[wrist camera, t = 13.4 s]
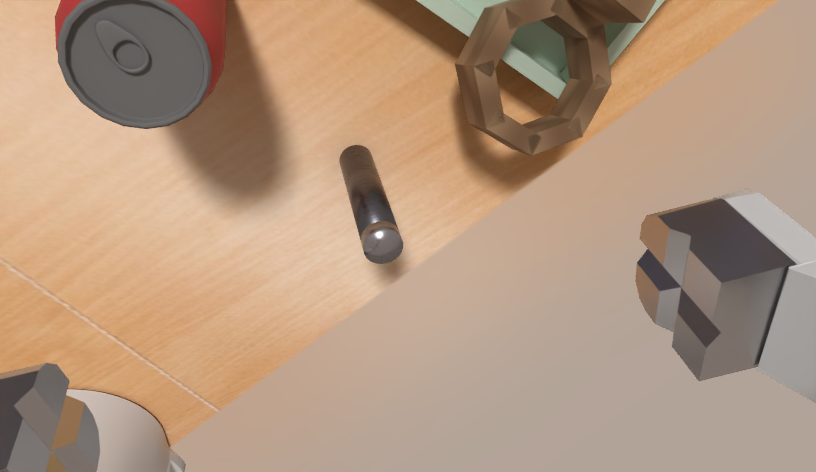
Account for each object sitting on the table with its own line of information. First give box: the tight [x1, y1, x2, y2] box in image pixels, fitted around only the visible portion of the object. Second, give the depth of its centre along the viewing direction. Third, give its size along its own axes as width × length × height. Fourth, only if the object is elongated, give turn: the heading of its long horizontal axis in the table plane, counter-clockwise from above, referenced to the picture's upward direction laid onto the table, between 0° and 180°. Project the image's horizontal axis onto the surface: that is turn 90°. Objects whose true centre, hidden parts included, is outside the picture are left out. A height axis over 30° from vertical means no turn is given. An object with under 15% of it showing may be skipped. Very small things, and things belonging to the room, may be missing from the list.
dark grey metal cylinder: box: [340, 145, 403, 264], centre depth 39 cm, size 2×2×10 cm
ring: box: [455, 0, 656, 156], centre depth 35 cm, size 8×13×6 cm, turn 145°
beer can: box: [55, 0, 227, 129], centre depth 29 cm, size 7×7×12 cm
